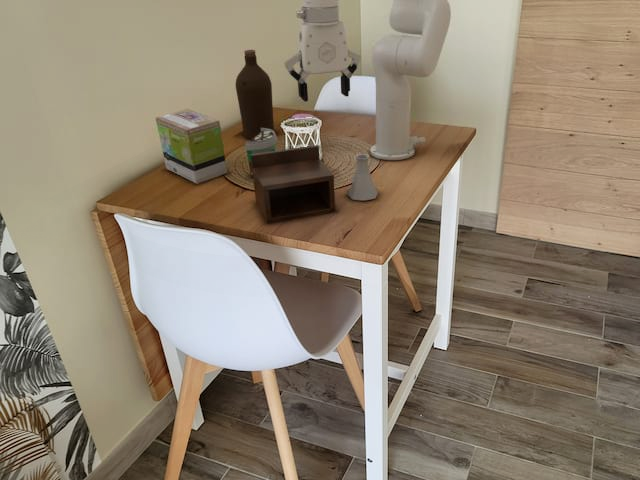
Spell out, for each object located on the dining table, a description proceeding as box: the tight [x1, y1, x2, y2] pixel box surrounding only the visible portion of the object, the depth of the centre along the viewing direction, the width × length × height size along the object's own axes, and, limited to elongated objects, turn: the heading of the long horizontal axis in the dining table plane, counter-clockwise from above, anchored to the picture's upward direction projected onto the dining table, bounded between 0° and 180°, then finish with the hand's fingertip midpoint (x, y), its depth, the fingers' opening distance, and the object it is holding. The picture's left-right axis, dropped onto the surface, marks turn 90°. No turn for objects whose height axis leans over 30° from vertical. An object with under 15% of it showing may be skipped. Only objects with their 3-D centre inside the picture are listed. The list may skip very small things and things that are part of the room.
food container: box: [244, 128, 279, 179], centre depth 150 cm, size 12×6×10 cm, turn 168°
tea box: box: [155, 108, 228, 185], centre depth 149 cm, size 15×10×15 cm
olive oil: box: [235, 49, 275, 140], centre depth 172 cm, size 11×11×25 cm
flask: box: [347, 153, 379, 201], centre depth 136 cm, size 7×7×10 cm
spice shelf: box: [250, 144, 336, 224], centre depth 130 cm, size 16×12×12 cm
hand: (324, 97), depth 129 cm, fingers open, 9 cm apart
